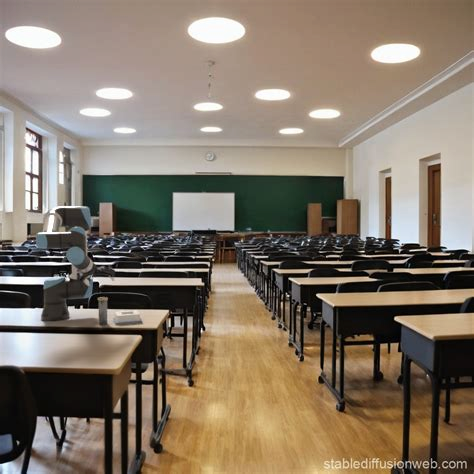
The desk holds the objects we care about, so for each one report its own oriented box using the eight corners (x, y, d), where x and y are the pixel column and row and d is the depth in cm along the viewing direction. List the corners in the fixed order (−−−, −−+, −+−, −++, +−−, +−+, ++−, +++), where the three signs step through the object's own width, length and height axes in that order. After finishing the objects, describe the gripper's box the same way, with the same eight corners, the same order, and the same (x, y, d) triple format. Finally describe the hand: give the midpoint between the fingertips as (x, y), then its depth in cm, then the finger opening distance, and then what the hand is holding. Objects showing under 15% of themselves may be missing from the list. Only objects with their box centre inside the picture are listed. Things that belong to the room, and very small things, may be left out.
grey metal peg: (97, 323, 237) (97, 297, 237) (107, 322, 239) (107, 296, 239) (98, 325, 232) (97, 299, 232) (108, 324, 234) (107, 298, 234)
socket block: (113, 319, 246) (113, 311, 246) (138, 317, 251) (138, 309, 251) (115, 324, 233) (115, 316, 233) (142, 322, 238) (142, 314, 238)
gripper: (61, 278, 215) (78, 292, 234) (111, 267, 216) (124, 283, 234) (61, 264, 219) (78, 279, 238) (110, 254, 219) (123, 270, 238)
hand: (101, 281), depth 236 cm, fingers open, 13 cm apart
